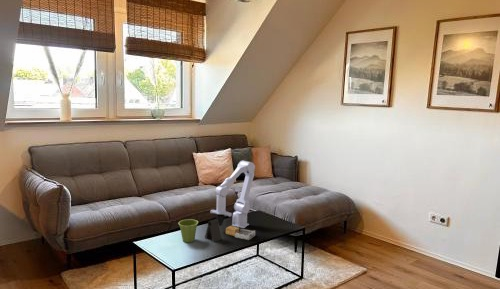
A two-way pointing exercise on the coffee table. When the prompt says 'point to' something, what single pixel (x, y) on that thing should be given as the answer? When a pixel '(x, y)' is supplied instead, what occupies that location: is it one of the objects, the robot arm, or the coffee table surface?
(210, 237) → the dark tent-shaped stand
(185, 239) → the plant pot
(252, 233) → the coupler channel
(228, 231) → the block
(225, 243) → the coffee table surface
